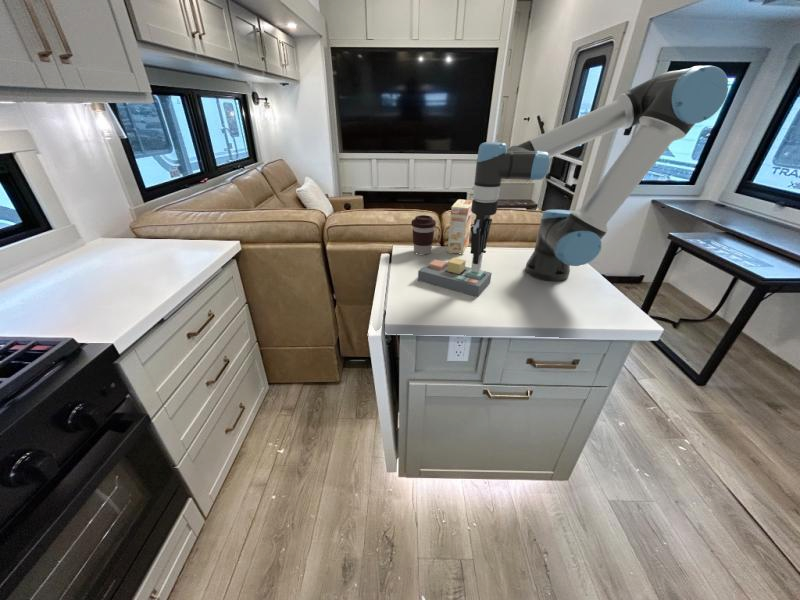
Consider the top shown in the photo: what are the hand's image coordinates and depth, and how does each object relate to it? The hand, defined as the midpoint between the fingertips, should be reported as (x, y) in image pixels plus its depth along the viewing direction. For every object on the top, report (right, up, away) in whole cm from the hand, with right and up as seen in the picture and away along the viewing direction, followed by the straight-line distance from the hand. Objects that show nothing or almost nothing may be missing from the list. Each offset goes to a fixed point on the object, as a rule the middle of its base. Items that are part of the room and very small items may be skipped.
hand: (475, 271), depth 108 cm
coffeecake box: (0, +13, +34) cm, 37 cm away
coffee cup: (-16, +11, +30) cm, 35 cm away
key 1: (-12, +1, +8) cm, 15 cm away
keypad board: (-6, -3, +5) cm, 9 cm away
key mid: (-6, +1, +4) cm, 7 cm away
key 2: (0, -3, +2) cm, 4 cm away
